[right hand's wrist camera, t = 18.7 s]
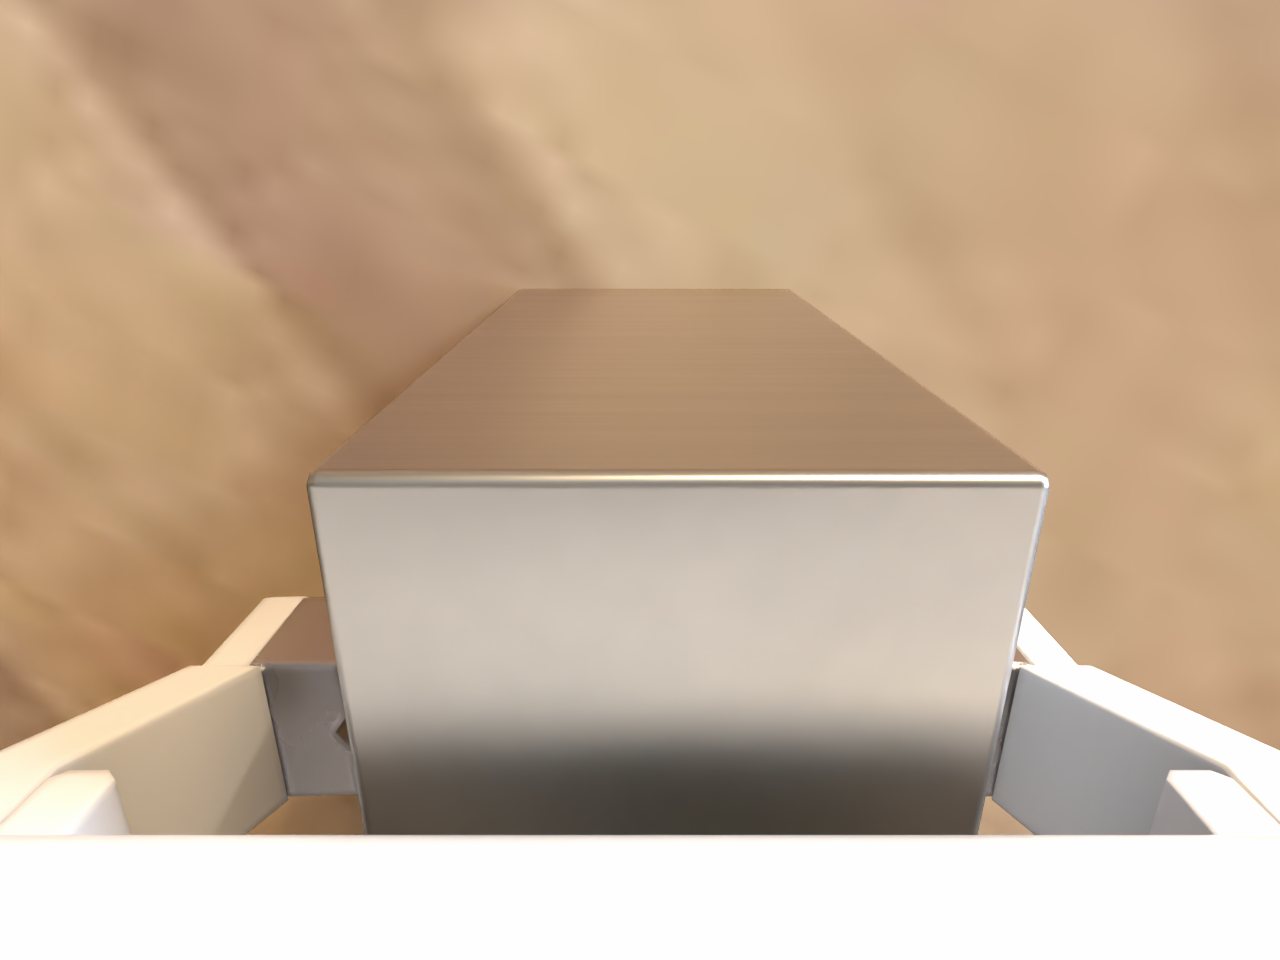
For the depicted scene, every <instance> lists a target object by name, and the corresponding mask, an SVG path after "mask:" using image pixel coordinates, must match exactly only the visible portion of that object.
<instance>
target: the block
mask: <svg viewBox="0 0 1280 960" xmlns="http://www.w3.org/2000/svg"><path fill="white" fill-rule="evenodd" d="M307 492H308V498H309V504H310V510H311V516H312V522H313V528H314V534H315V540H316V546H317V552H318V558H319V564H320V570H321V576H322V582H323V588H324V594H325V599H326V605H327V611H328V617H329V623H330V629H331V635H332V641H333V647H334V653H335V659H336V665H337V671H338V677H339V683H340V689H341V695H342V701H343V707H344V713H345V718H346V724H347V730H348V736H349V742H350V748H351V754H352V760H353V766H354V772H355V778H356V784H357V790H358V796H359V802H360V808H361V814H362V820H363V826H364V832H365V835H978V830H979V825H980V820H981V815H982V811H983V806H984V801H985V796H986V791H987V786H988V782H989V777H990V772H991V767H992V762H993V758H994V753H995V748H996V743H997V738H998V733H999V729H1000V724H1001V719H1002V714H1003V709H1004V705H1005V700H1006V695H1007V690H1008V685H1009V680H1010V676H1011V671H1012V666H1013V661H1014V656H1015V652H1016V647H1017V642H1018V637H1019V632H1020V627H1021V623H1022V618H1023V613H1024V608H1025V603H1026V599H1027V594H1028V589H1029V584H1030V579H1031V574H1032V570H1033V565H1034V560H1035V555H1036V550H1037V546H1038V541H1039V536H1040V531H1041V526H1042V521H1043V517H1044V512H1045V507H1046V502H1047V497H1048V493H1049V482H1048V478H1047V475H1046V474H1045V473H1044V472H1043V471H1041V470H1040V469H1038V468H1037V467H1036V466H1034V465H1033V464H1031V463H1030V462H1029V461H1027V460H1026V459H1025V458H1023V457H1022V456H1020V455H1019V454H1018V453H1016V452H1015V451H1013V450H1012V449H1011V448H1009V447H1008V446H1007V445H1005V444H1004V443H1002V442H1001V441H1000V440H998V439H997V438H995V437H994V436H993V435H991V434H990V433H988V432H987V431H986V430H984V429H983V428H982V427H980V426H979V425H977V424H976V423H975V422H973V421H972V420H970V419H969V418H968V417H966V416H965V415H963V414H962V413H961V412H959V411H958V410H957V409H955V408H954V407H952V406H951V405H950V404H948V403H947V402H945V401H944V400H943V399H941V398H940V397H939V396H937V395H936V394H934V393H933V392H932V391H930V390H929V389H927V388H926V387H925V386H923V385H922V384H920V383H919V382H918V381H916V380H915V379H914V378H912V377H911V376H909V375H908V374H907V373H905V372H904V371H902V370H901V369H900V368H898V367H897V366H895V365H894V364H893V363H891V362H890V361H889V360H887V359H886V358H884V357H883V356H882V355H880V354H879V353H877V352H876V351H875V350H873V349H872V348H871V347H869V346H868V345H866V344H865V343H864V342H862V341H861V340H859V339H858V338H857V337H855V336H854V335H852V334H851V333H850V332H848V331H847V330H846V329H844V328H843V327H841V326H840V325H839V324H837V323H836V322H834V321H833V320H832V319H830V318H829V317H828V316H826V315H825V314H823V313H822V312H821V311H819V310H818V309H816V308H815V307H814V306H812V305H811V304H809V303H808V302H807V301H805V300H804V299H803V298H801V297H800V296H798V295H797V294H796V293H794V292H793V291H791V290H789V289H521V290H519V291H518V292H517V293H515V294H514V295H513V296H512V297H511V298H510V299H509V300H507V301H506V302H505V303H504V304H503V305H502V306H501V307H499V308H498V309H497V310H496V311H495V312H494V313H492V314H491V315H490V316H489V317H488V318H487V319H486V320H484V321H483V322H482V323H481V324H480V325H479V326H478V327H476V328H475V329H474V330H473V331H472V332H471V333H470V334H468V335H467V336H466V337H465V338H464V339H463V340H462V341H460V342H459V343H458V344H457V345H456V346H455V347H453V348H452V349H451V350H450V351H449V352H448V353H447V354H445V355H444V356H443V357H442V358H441V359H440V360H439V361H437V362H436V363H435V364H434V365H433V366H432V367H431V368H429V369H428V370H427V371H426V372H425V373H424V374H422V375H421V376H420V377H419V378H418V379H417V380H416V381H414V382H413V383H412V384H411V385H410V386H409V387H408V388H406V389H405V390H404V391H403V392H402V393H401V394H400V395H398V396H397V397H396V398H395V399H394V400H393V401H391V402H390V403H389V404H388V405H387V406H386V407H385V408H383V409H382V410H381V411H380V412H379V413H378V414H377V415H375V416H374V417H373V418H372V419H371V420H370V421H369V422H367V423H366V424H365V425H364V426H363V427H362V428H360V429H359V430H358V431H357V432H356V433H355V434H354V435H352V436H351V437H350V438H349V439H348V440H347V441H346V442H344V443H343V444H342V445H341V446H340V447H339V448H338V449H336V450H335V451H334V452H333V453H332V454H331V455H329V456H328V457H327V458H326V459H325V460H324V461H323V462H321V463H320V464H319V465H318V466H317V467H316V468H315V469H313V470H312V471H311V472H310V473H309V476H308V480H307Z"/></svg>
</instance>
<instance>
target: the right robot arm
mask: <svg viewBox="0 0 1280 960" xmlns="http://www.w3.org/2000/svg"><path fill="white" fill-rule="evenodd" d="M353 794H358V790H357V784H356V778H355V772H354V766H353V760H352V754H351V748H350V742H349V736H348V730H347V724H346V718H345V713H344V707H343V701H342V695H341V689H340V683H339V677H338V671H337V665H336V659H335V653H334V647H333V641H332V635H331V629H330V623H329V617H328V611H327V605H326V599H325V597H309V598H308V597H306V596H291V597H270V598H264V599H263V600H262V601H261V602H260V603H259V604H258V605H257V606H256V608H255V609H254V610H253V611H252V612H251V613H250V614H249V615H248V616H247V617H246V618H245V620H244V621H243V622H242V623H241V624H240V625H239V626H238V627H237V628H236V629H235V630H234V632H233V633H232V634H231V635H230V636H229V637H228V638H227V639H226V640H225V641H224V642H223V644H222V645H221V646H220V647H219V648H218V649H217V650H216V651H215V652H214V653H213V655H212V656H211V657H210V658H209V659H208V660H207V661H206V662H205V663H204V664H203V665H202V666H188V667H185V668H183V669H181V670H179V671H177V672H174V673H172V674H170V675H168V676H165V677H163V678H161V679H159V680H157V681H154V682H152V683H150V684H148V685H145V686H143V687H141V688H139V689H136V690H134V691H132V692H130V693H128V694H125V695H123V696H121V697H119V698H116V699H114V700H112V701H110V702H108V703H105V704H103V705H101V706H99V707H96V708H94V709H92V710H90V711H88V712H85V713H83V714H81V715H79V716H76V717H74V718H72V719H70V720H68V721H65V722H63V723H61V724H59V725H56V726H54V727H52V728H50V729H47V730H45V731H43V732H41V733H39V734H36V735H34V736H32V737H30V738H27V739H25V740H23V741H21V742H19V743H16V744H14V745H12V746H10V747H7V748H5V749H3V750H1V751H0V960H1280V751H1279V750H1277V749H1274V748H1272V747H1270V746H1268V745H1265V744H1263V743H1261V742H1259V741H1257V740H1254V739H1252V738H1250V737H1248V736H1246V735H1243V734H1241V733H1239V732H1237V731H1234V730H1232V729H1230V728H1228V727H1226V726H1223V725H1221V724H1219V723H1217V722H1214V721H1212V720H1210V719H1208V718H1206V717H1203V716H1201V715H1199V714H1197V713H1195V712H1192V711H1190V710H1188V709H1186V708H1183V707H1181V706H1179V705H1177V704H1175V703H1172V702H1170V701H1168V700H1166V699H1163V698H1161V697H1159V696H1157V695H1155V694H1152V693H1150V692H1148V691H1146V690H1143V689H1141V688H1139V687H1137V686H1135V685H1132V684H1130V683H1128V682H1126V681H1124V680H1121V679H1119V678H1117V677H1115V676H1112V675H1110V674H1108V673H1106V672H1104V671H1101V670H1099V669H1097V668H1095V667H1092V666H1078V665H1077V664H1076V663H1075V662H1074V661H1073V660H1072V659H1071V658H1070V657H1069V655H1068V654H1067V653H1066V652H1065V651H1064V650H1063V649H1062V648H1061V647H1060V646H1059V645H1058V643H1057V642H1056V641H1055V640H1054V639H1053V638H1052V637H1051V636H1050V635H1049V634H1048V633H1047V631H1046V630H1045V629H1044V628H1043V627H1042V626H1041V625H1040V624H1039V623H1038V622H1037V621H1036V619H1035V618H1034V617H1033V616H1032V615H1031V614H1030V613H1029V612H1028V611H1027V610H1026V608H1024V613H1023V618H1022V623H1021V627H1020V632H1019V637H1018V642H1017V647H1016V652H1015V656H1014V661H1013V666H1012V671H1011V676H1010V680H1009V685H1008V690H1007V695H1006V700H1005V705H1004V709H1003V714H1002V719H1001V724H1000V729H999V733H998V738H997V743H996V748H995V753H994V758H993V762H992V767H991V772H990V777H989V782H988V786H987V791H986V796H992V800H993V801H994V802H996V803H997V804H998V805H999V806H1000V807H1002V808H1003V809H1004V810H1005V811H1006V812H1008V813H1009V814H1010V815H1011V816H1013V817H1014V818H1015V819H1016V820H1017V821H1019V822H1020V823H1021V824H1022V825H1024V826H1025V827H1026V828H1027V829H1028V830H1030V831H1031V832H1032V833H1033V834H1035V835H246V834H247V833H248V832H250V831H251V830H252V829H253V828H254V827H256V826H257V825H258V824H259V823H261V822H262V821H263V820H264V819H265V818H267V817H268V816H269V815H270V814H272V813H273V812H274V811H275V810H276V809H278V808H279V807H280V806H281V805H283V804H284V803H285V802H286V801H287V800H288V796H318V795H353Z"/></svg>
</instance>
